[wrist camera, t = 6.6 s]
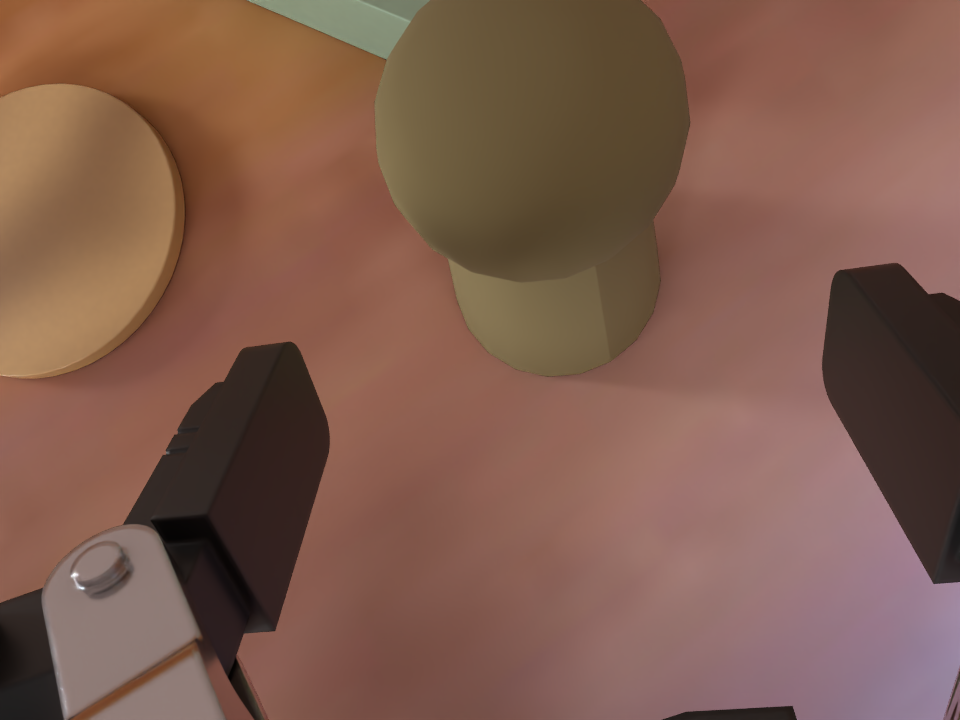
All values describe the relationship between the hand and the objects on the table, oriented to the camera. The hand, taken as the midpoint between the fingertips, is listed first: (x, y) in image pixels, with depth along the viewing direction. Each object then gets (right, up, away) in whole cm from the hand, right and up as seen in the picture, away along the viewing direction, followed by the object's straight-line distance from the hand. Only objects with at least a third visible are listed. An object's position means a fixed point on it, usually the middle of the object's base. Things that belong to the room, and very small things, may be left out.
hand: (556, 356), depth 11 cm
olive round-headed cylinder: (+1, +2, +10) cm, 11 cm away
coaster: (-16, +4, +13) cm, 21 cm away
